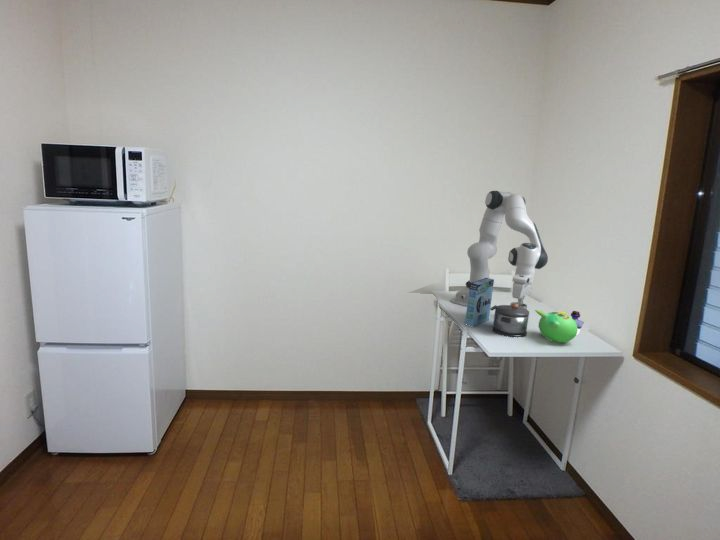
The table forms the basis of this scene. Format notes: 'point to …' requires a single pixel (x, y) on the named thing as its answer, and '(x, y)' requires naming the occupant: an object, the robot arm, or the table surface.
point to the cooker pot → (510, 325)
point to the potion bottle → (575, 317)
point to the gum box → (479, 301)
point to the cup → (520, 305)
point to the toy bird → (557, 326)
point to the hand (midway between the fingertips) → (520, 303)
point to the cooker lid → (511, 310)
